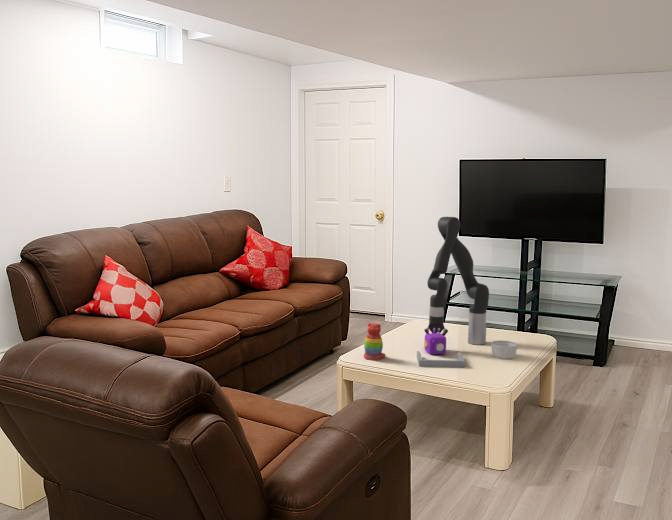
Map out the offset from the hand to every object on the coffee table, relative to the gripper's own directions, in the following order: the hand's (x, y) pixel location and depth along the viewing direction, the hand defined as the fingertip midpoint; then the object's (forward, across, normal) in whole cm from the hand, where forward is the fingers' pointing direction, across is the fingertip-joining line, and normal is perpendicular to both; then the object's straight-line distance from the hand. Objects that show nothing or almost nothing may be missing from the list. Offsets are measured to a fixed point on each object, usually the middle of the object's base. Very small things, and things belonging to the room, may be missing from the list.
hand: (435, 346), depth 372 cm
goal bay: (+1, 0, +23) cm, 23 cm away
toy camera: (+2, 0, +8) cm, 8 cm away
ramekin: (+2, -34, +10) cm, 36 cm away
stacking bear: (+1, +33, +19) cm, 38 cm away
